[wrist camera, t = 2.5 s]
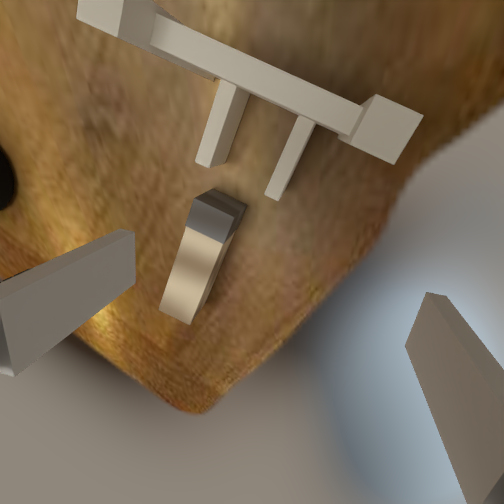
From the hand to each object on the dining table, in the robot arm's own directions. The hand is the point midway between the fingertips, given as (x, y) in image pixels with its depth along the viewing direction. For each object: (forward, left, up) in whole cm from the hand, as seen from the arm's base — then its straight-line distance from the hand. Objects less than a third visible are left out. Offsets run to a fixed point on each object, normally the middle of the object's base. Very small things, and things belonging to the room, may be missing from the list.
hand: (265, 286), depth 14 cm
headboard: (-6, +5, -20) cm, 21 cm away
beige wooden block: (-7, -10, -20) cm, 23 cm away
